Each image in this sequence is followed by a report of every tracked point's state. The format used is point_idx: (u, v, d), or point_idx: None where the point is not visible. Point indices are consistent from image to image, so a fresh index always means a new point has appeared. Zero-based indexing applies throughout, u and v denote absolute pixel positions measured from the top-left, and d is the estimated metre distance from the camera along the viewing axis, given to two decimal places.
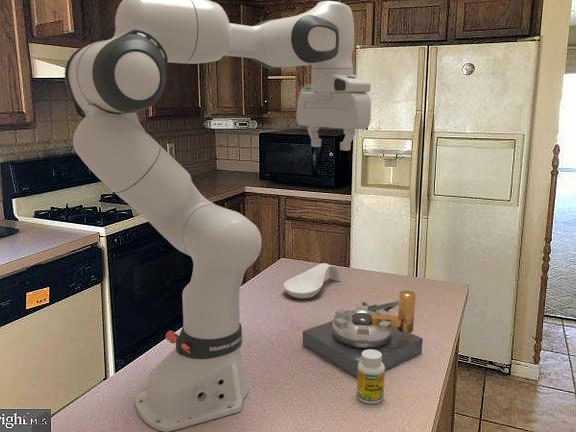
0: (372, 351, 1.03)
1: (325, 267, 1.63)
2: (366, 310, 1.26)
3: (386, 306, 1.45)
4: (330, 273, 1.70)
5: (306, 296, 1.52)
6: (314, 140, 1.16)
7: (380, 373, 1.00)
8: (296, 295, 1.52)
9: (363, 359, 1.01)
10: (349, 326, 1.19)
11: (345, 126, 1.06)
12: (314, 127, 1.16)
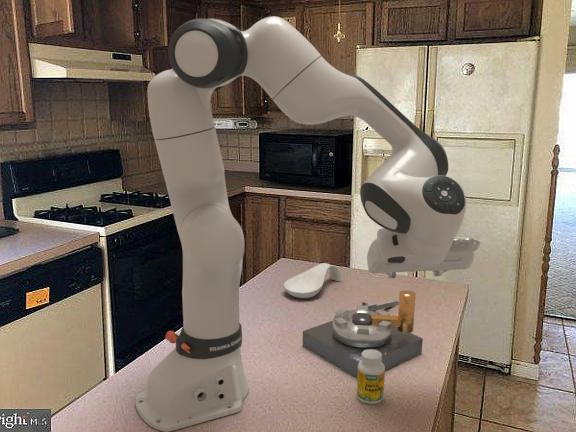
0: (372, 351, 1.03)
1: (325, 267, 1.63)
2: (366, 310, 1.26)
3: (386, 306, 1.46)
4: (330, 273, 1.70)
5: (306, 296, 1.52)
6: None
7: (380, 373, 1.00)
8: (296, 295, 1.52)
9: (363, 359, 1.01)
10: (349, 326, 1.19)
11: None
12: None
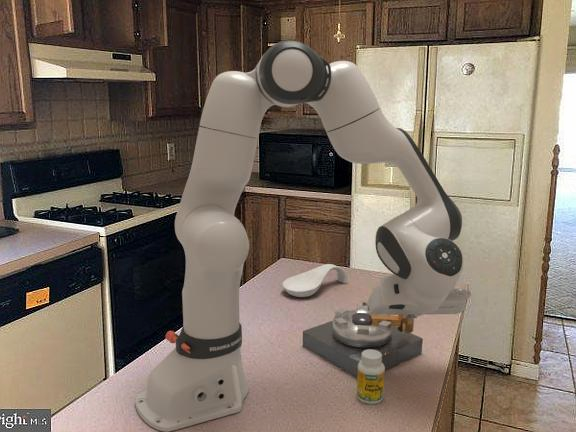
0: (372, 351, 1.03)
1: (328, 268, 1.62)
2: (366, 310, 1.26)
3: None
4: (337, 274, 1.68)
5: (301, 295, 1.53)
6: None
7: (380, 373, 1.00)
8: (291, 293, 1.54)
9: (363, 359, 1.01)
10: (349, 326, 1.19)
11: None
12: None
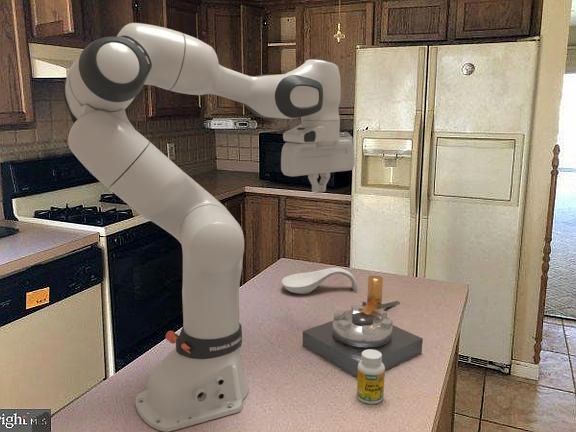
0: (372, 351, 1.03)
1: (333, 271, 1.59)
2: (344, 313, 1.24)
3: (386, 306, 1.46)
4: None
5: (290, 290, 1.57)
6: None
7: (380, 373, 1.00)
8: None
9: (363, 359, 1.01)
10: None
11: None
12: (322, 173, 1.21)
